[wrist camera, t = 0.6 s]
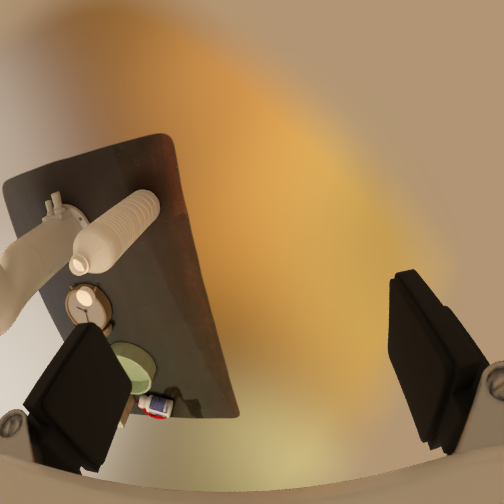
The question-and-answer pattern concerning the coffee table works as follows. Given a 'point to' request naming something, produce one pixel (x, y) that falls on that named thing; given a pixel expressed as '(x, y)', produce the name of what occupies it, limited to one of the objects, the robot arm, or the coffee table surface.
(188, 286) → the coffee table surface
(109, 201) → the coffee table surface
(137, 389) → the holder
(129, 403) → the box
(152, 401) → the pill bottle
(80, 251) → the plastic bottle and lid
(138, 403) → the ornament
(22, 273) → the robot arm
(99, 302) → the alarm clock
